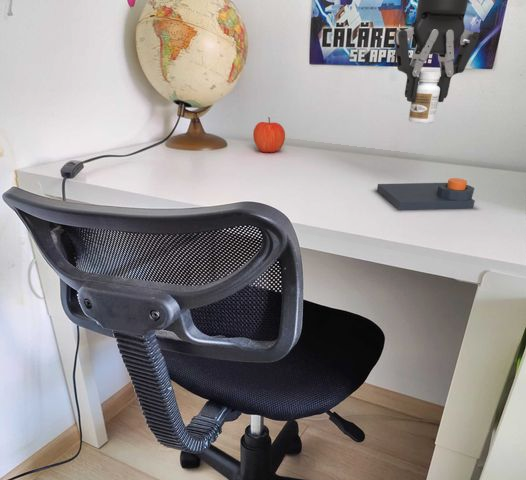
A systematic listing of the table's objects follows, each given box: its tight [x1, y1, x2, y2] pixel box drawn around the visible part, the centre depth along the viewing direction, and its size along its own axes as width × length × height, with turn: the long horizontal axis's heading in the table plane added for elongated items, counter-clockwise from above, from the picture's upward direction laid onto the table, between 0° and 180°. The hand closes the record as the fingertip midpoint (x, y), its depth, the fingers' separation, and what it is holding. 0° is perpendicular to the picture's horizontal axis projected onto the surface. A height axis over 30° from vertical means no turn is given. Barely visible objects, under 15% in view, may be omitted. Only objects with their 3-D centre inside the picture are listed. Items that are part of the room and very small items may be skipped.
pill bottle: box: [408, 70, 441, 125], centre depth 85 cm, size 4×4×8 cm
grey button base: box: [376, 182, 476, 211], centre depth 92 cm, size 14×12×3 cm
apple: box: [252, 117, 286, 153], centre depth 123 cm, size 8×8×8 cm
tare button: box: [447, 177, 468, 190], centre depth 89 cm, size 3×3×2 cm
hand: (425, 100), depth 85 cm, fingers closed on pill bottle, 4 cm apart
